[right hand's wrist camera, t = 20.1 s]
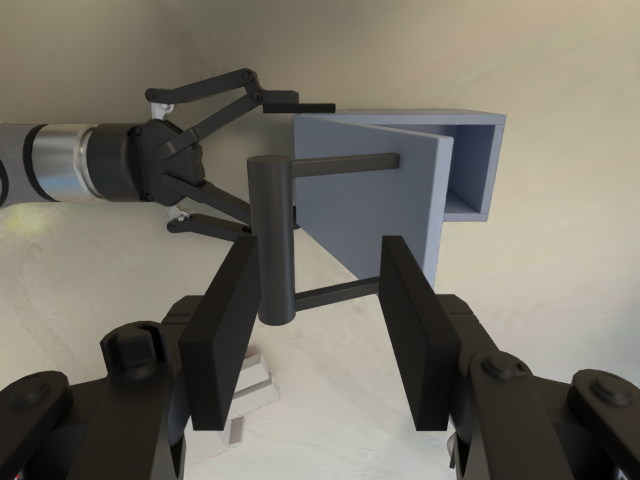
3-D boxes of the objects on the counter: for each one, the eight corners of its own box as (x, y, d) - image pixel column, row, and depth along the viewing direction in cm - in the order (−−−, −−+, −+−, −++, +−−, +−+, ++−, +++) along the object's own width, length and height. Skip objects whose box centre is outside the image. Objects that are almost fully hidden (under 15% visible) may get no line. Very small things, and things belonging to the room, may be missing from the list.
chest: (465, 109, 40) (506, 114, 31) (453, 195, 43) (487, 221, 35) (303, 109, 40) (298, 114, 31) (305, 194, 44) (300, 221, 35)
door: (454, 136, 15) (264, 147, 12) (429, 327, 19) (277, 371, 16) (303, 114, 31) (201, 117, 28) (304, 222, 34) (214, 234, 31)
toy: (289, 442, 45) (62, 534, 45) (285, 370, 58) (107, 443, 58) (248, 368, 41) (-3, 469, 41) (253, 308, 54) (61, 386, 53)
